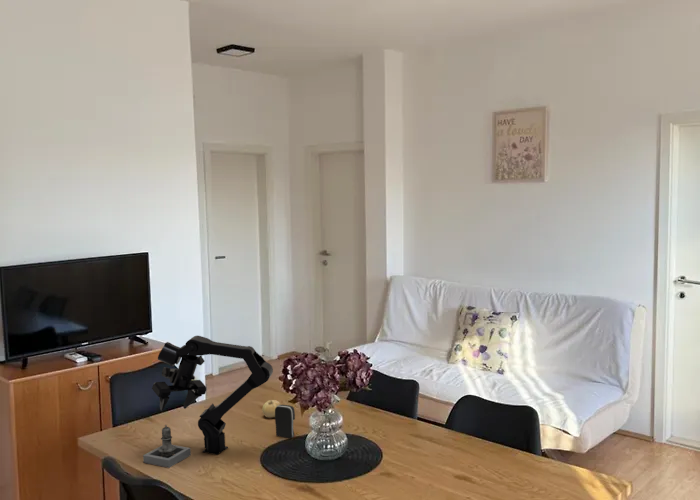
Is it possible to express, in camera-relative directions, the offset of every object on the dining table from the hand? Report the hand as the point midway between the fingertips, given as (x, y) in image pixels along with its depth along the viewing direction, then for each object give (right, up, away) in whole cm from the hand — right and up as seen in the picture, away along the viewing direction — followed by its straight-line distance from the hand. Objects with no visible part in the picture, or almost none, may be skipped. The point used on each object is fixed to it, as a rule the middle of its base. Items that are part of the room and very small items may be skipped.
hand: (172, 409), depth 229 cm
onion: (+31, -11, +31) cm, 46 cm away
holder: (0, -15, -8) cm, 17 cm away
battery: (+39, -12, +10) cm, 42 cm away
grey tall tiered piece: (0, -15, -8) cm, 17 cm away
